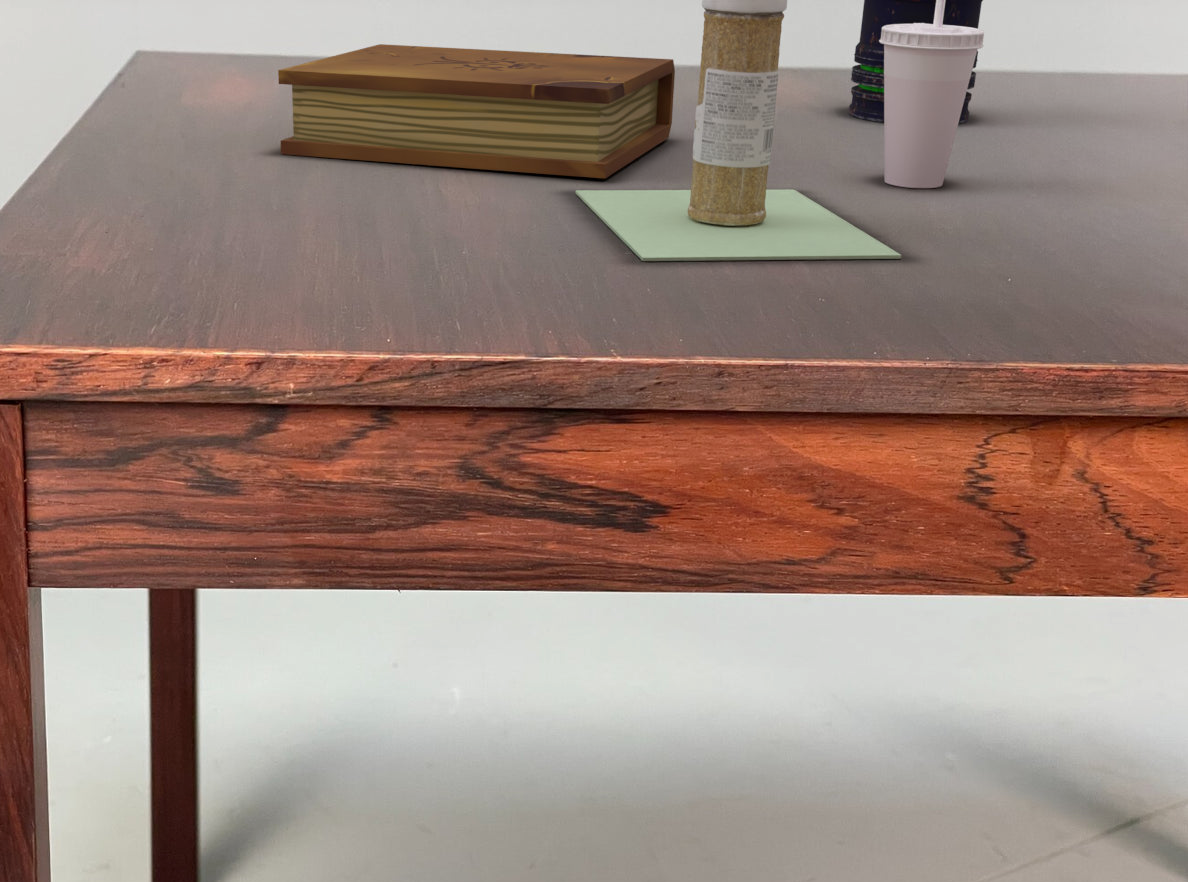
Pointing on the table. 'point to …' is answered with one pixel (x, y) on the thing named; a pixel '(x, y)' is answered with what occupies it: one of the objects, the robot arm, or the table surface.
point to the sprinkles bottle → (735, 110)
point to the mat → (730, 229)
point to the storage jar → (882, 7)
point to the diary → (481, 108)
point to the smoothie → (924, 96)
